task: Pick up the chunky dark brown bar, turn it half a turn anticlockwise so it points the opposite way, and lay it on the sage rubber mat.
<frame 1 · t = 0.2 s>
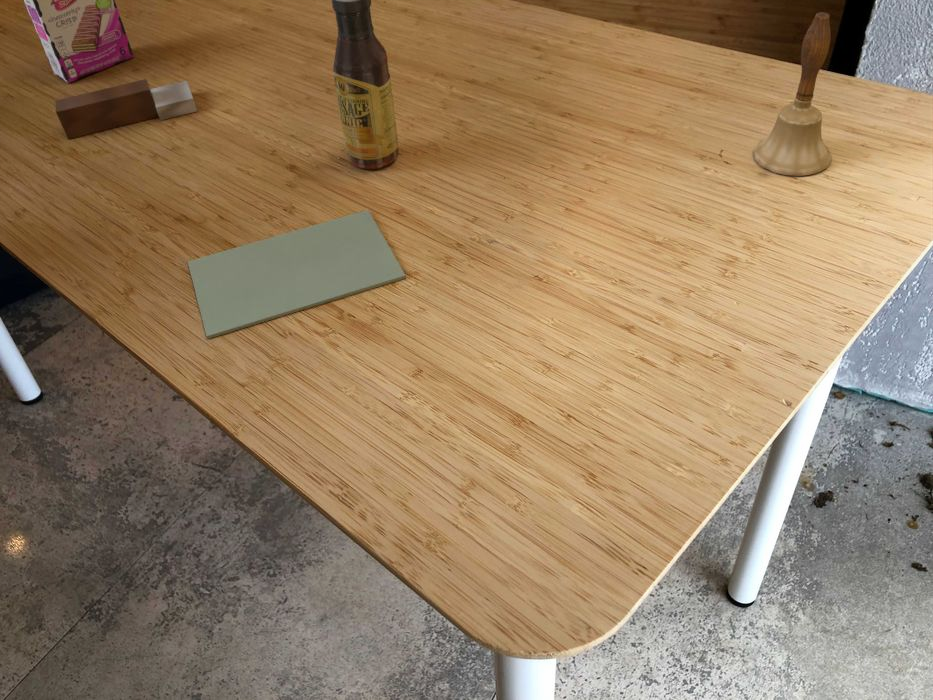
sauce bottle: (375, 160, 102), on the table
mat: (294, 271, 87), on the table
dark brown bar: (120, 120, 115), on the table
candy bar box: (97, 68, 128), on the table
hand bell: (791, 158, 95), on the table
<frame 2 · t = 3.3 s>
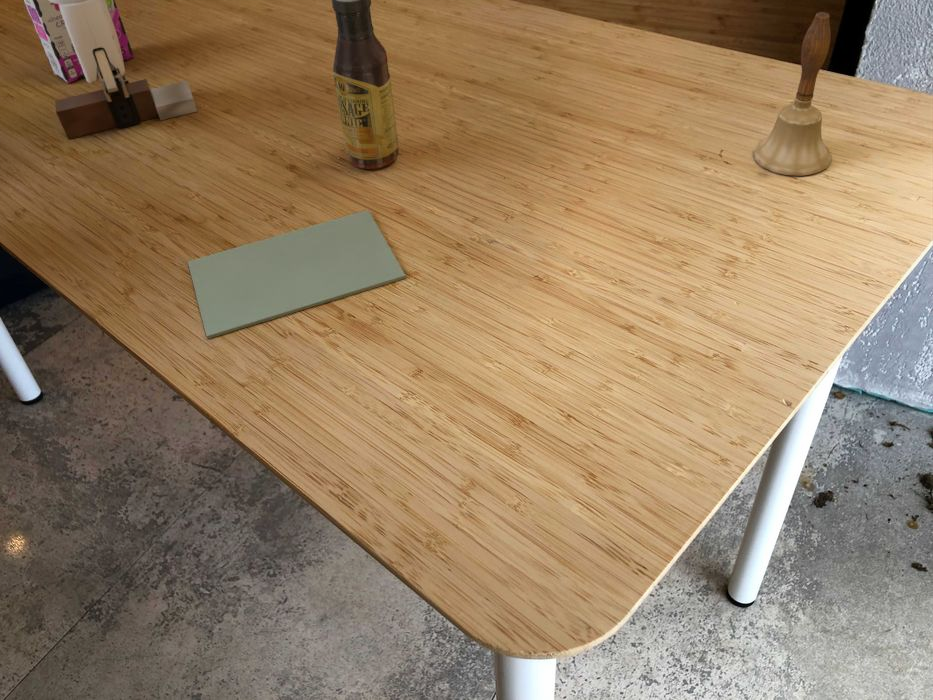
hand: (127, 116, 115), 0 cm above the table, tool pointing down, fingers closed on dark brown bar, 3 cm apart
dark brown bar: (120, 120, 115), on the table, touching gripper
everything else where it was.
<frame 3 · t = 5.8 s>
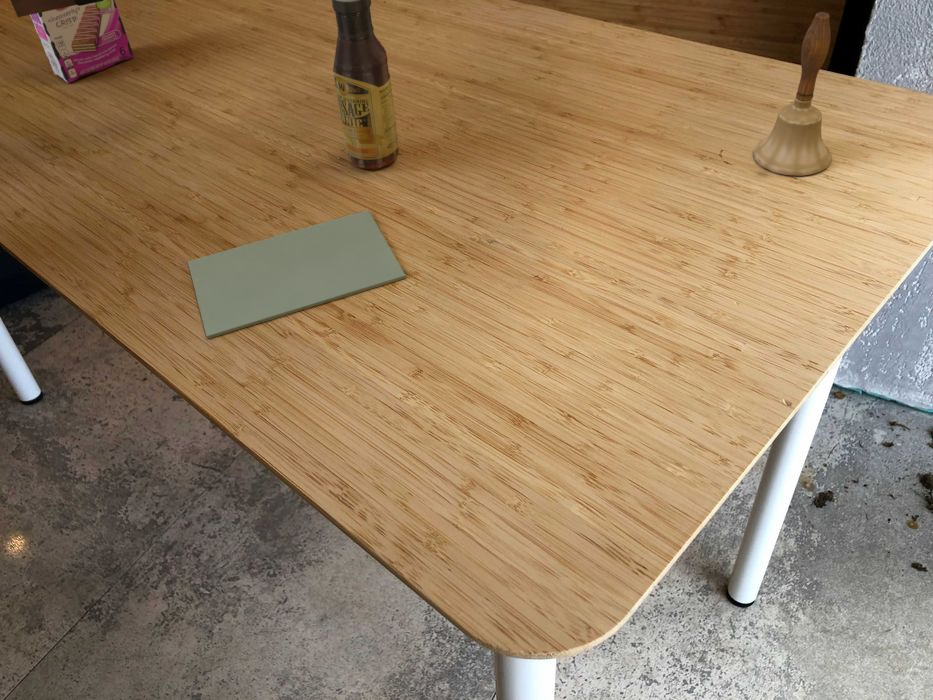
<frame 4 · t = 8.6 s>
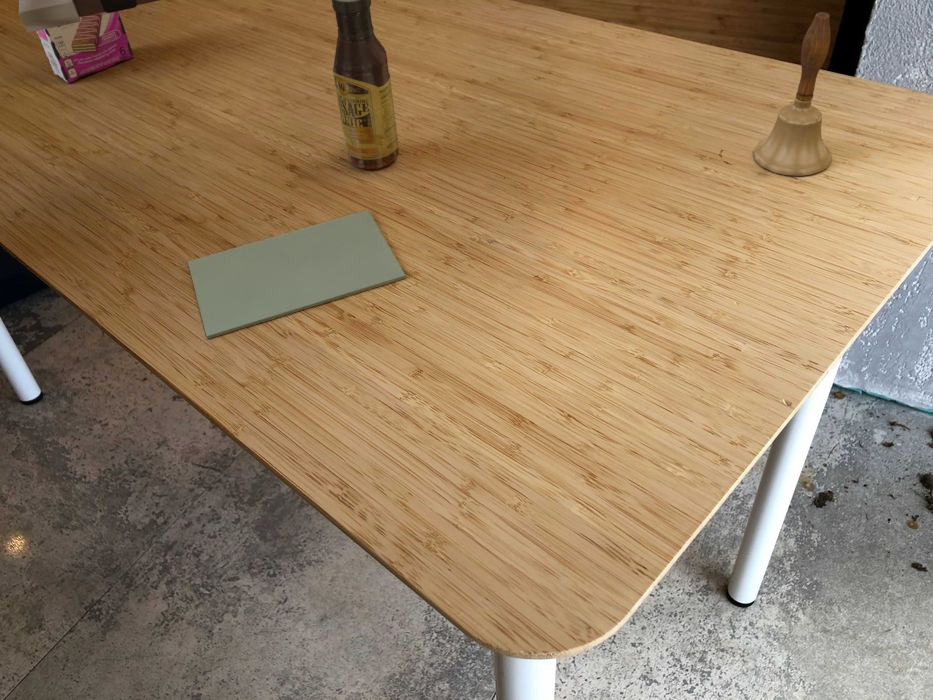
hand: (119, 0, 85), 22 cm above the table, tool pointing down, fingers closed on dark brown bar, 3 cm apart
dark brown bar: (130, 0, 86), point 22 cm above the table, touching gripper
everything else where it was.
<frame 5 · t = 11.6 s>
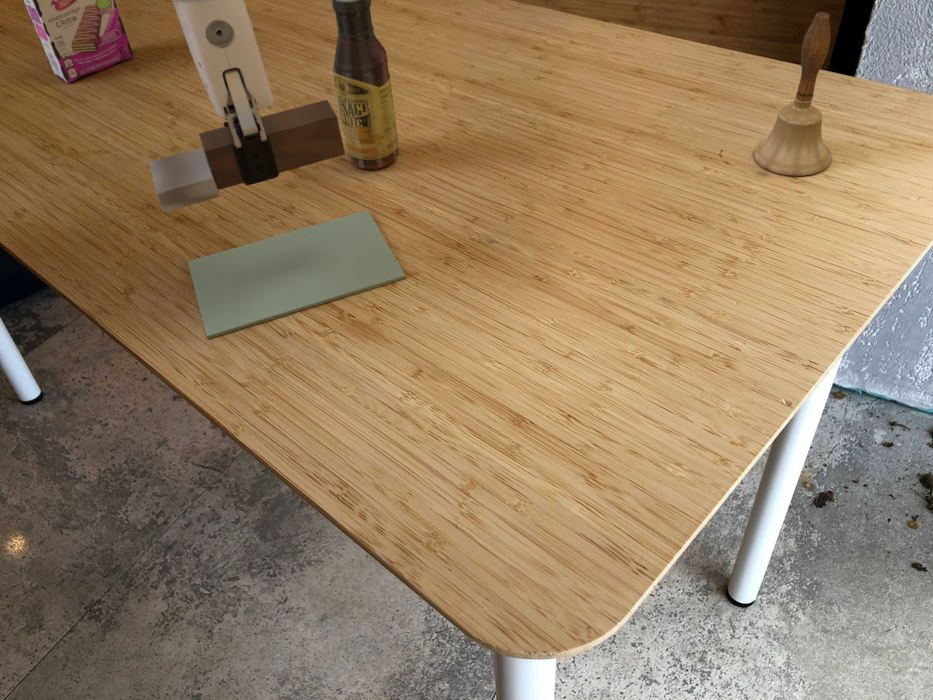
hand: (256, 166, 78), 13 cm above the table, tool pointing down, fingers closed on dark brown bar, 3 cm apart
dark brown bar: (268, 166, 79), point 12 cm above the table, touching gripper
everything else where it was.
when the fingers open (1 cm above the table, at t = 13.9 s): dark brown bar stays where it is, resting on mat.
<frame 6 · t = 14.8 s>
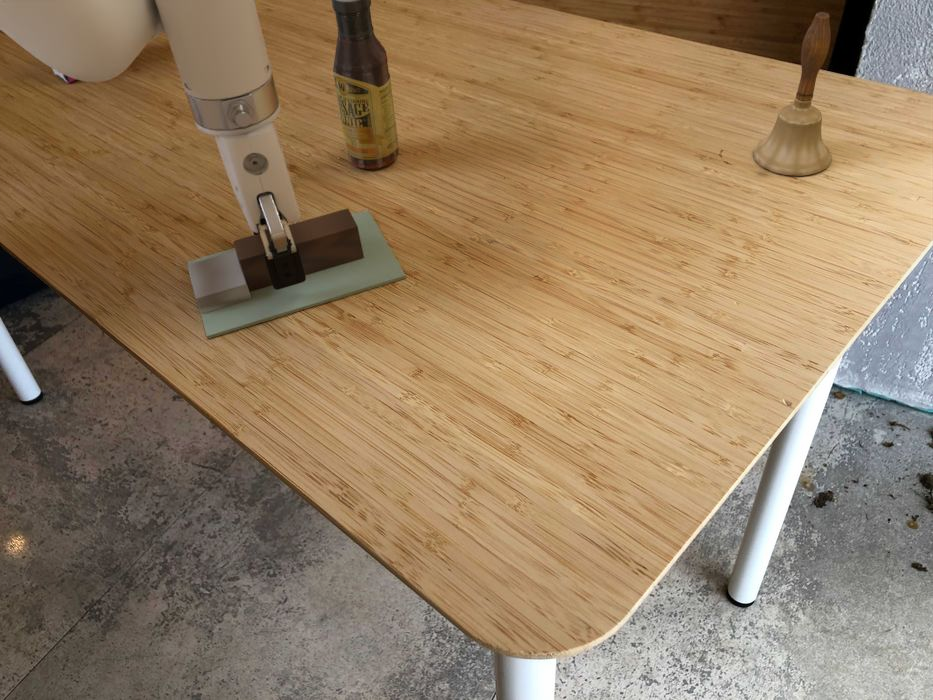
hand: (279, 256, 85), 2 cm above the table, tool pointing down, fingers open, 9 cm apart
dark brown bar: (294, 267, 87), resting on mat
everything else where it was.
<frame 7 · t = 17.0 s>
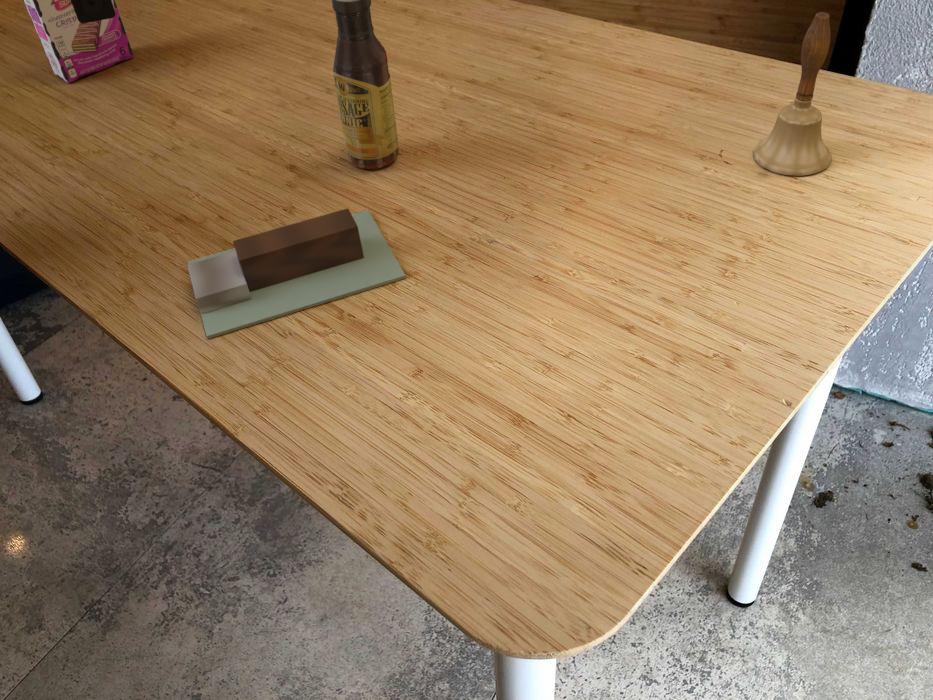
hand: (95, 0, 79), 25 cm above the table, tool pointing down, fingers open, 9 cm apart
nothing on the table moved.
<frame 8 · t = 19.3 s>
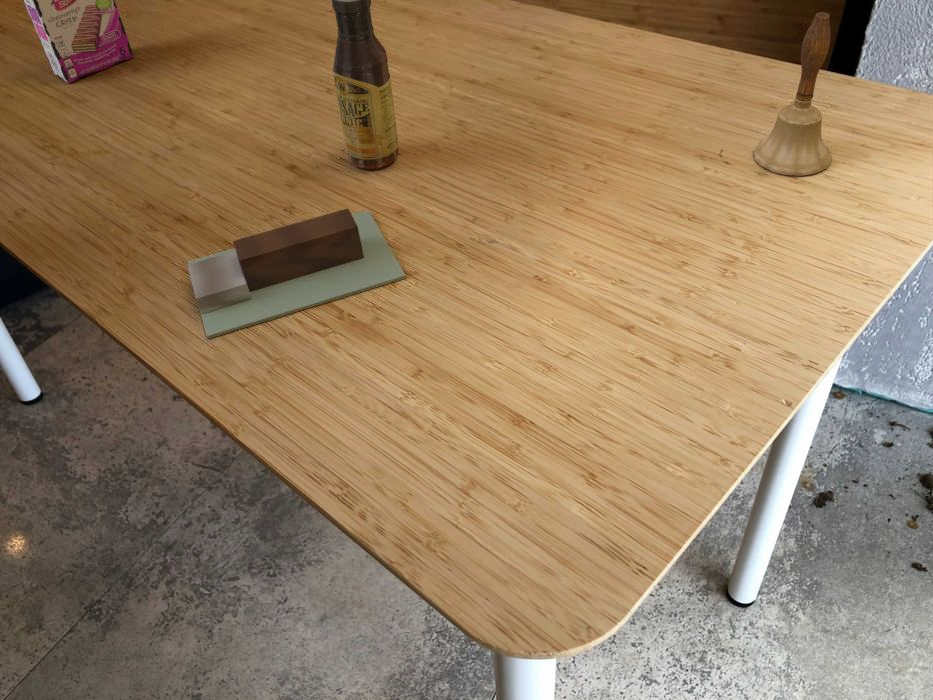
nothing on the table moved.
at the end: dark brown bar inside the target area on the mat (0.1 cm from its centre), point 0.4 cm above the mat's base; dark brown bar tilted 0°; dark brown bar moved 46.2 cm from its start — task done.
